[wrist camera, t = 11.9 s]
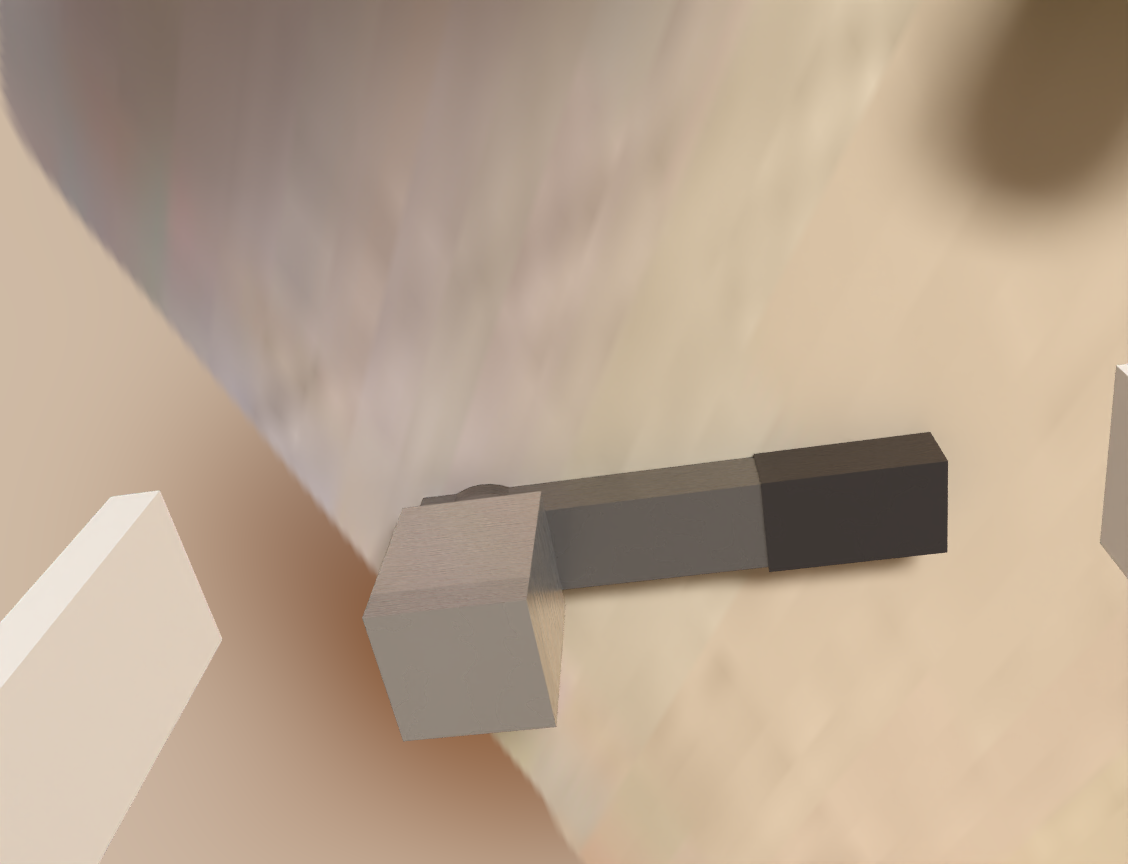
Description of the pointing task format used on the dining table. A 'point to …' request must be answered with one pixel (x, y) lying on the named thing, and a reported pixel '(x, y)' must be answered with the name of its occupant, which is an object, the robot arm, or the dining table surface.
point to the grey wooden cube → (469, 618)
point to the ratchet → (746, 512)
